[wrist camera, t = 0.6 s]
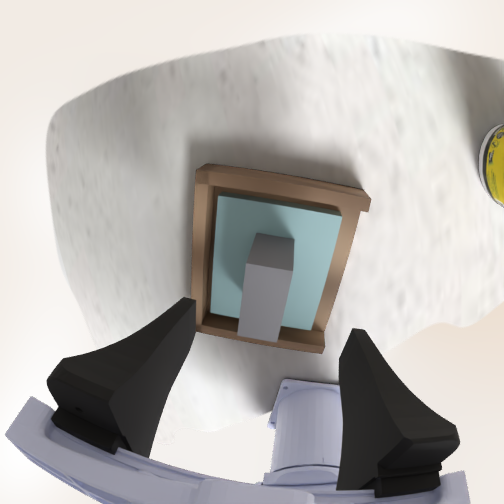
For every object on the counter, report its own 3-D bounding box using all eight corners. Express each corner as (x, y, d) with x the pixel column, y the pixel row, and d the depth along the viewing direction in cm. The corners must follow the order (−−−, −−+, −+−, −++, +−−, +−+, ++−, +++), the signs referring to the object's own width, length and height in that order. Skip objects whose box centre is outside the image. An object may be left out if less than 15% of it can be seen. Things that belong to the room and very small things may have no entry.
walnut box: (321, 335, 24) (322, 353, 22) (199, 313, 24) (191, 330, 22) (363, 189, 18) (371, 199, 16) (206, 163, 19) (196, 170, 17)
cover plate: (310, 321, 22) (311, 370, 18) (213, 304, 23) (195, 349, 19) (340, 211, 18) (353, 244, 14) (222, 191, 19) (198, 218, 14)
